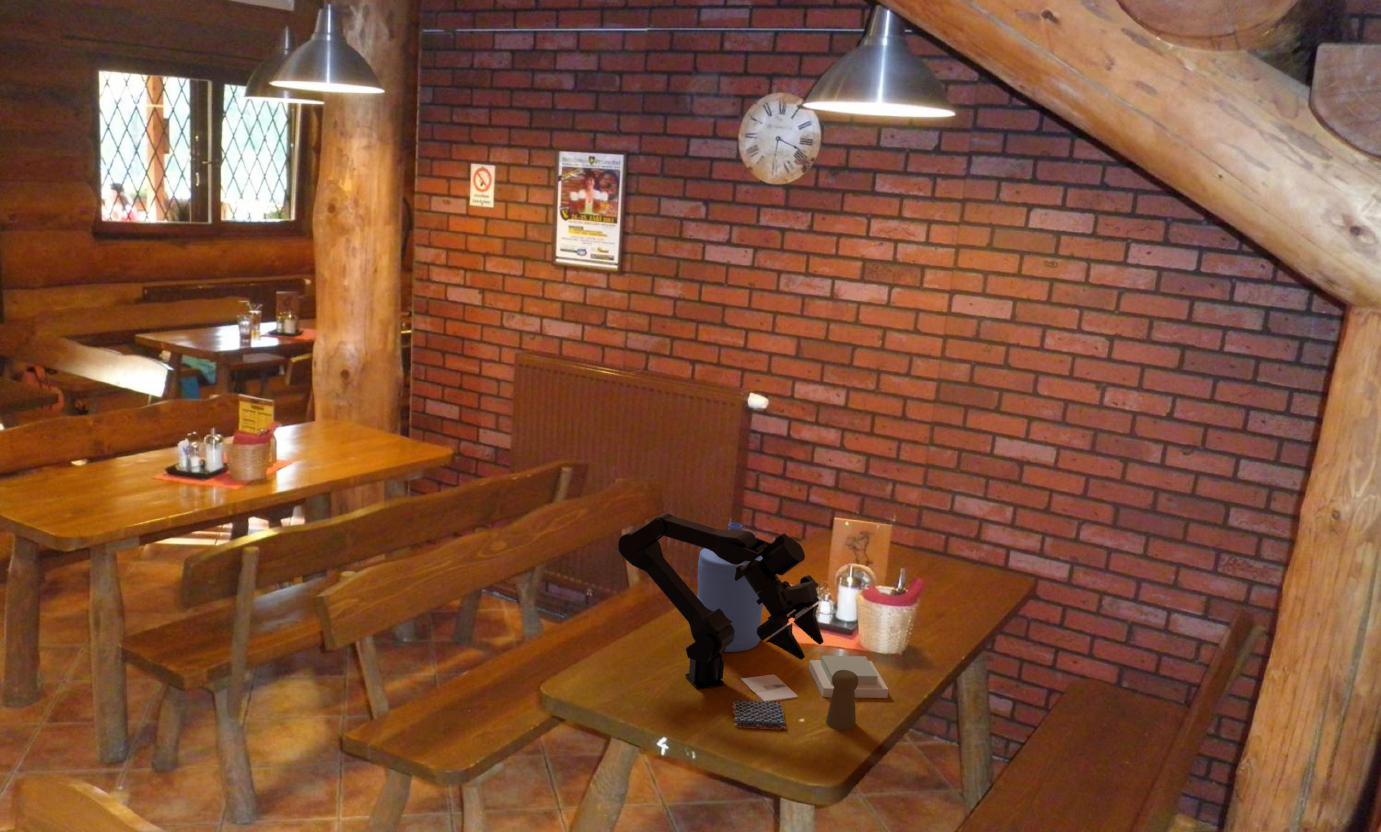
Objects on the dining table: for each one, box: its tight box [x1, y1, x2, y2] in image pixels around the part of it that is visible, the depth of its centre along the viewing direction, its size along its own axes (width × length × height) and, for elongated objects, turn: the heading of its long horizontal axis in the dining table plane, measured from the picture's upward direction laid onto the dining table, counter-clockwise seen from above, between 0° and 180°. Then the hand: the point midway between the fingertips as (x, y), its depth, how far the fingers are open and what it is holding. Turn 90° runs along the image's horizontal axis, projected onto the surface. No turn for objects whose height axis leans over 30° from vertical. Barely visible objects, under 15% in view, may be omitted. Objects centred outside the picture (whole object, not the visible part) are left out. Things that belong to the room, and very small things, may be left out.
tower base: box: [808, 655, 889, 699], centre depth 255 cm, size 14×14×4 cm
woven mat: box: [732, 698, 787, 731], centre depth 237 cm, size 10×11×2 cm
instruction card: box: [740, 674, 799, 703], centre depth 250 cm, size 8×11×1 cm
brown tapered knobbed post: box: [825, 670, 858, 731], centre depth 235 cm, size 6×6×11 cm
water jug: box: [696, 522, 764, 653], centre depth 271 cm, size 16×16×28 cm
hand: (812, 650), depth 237 cm, fingers open, 9 cm apart
